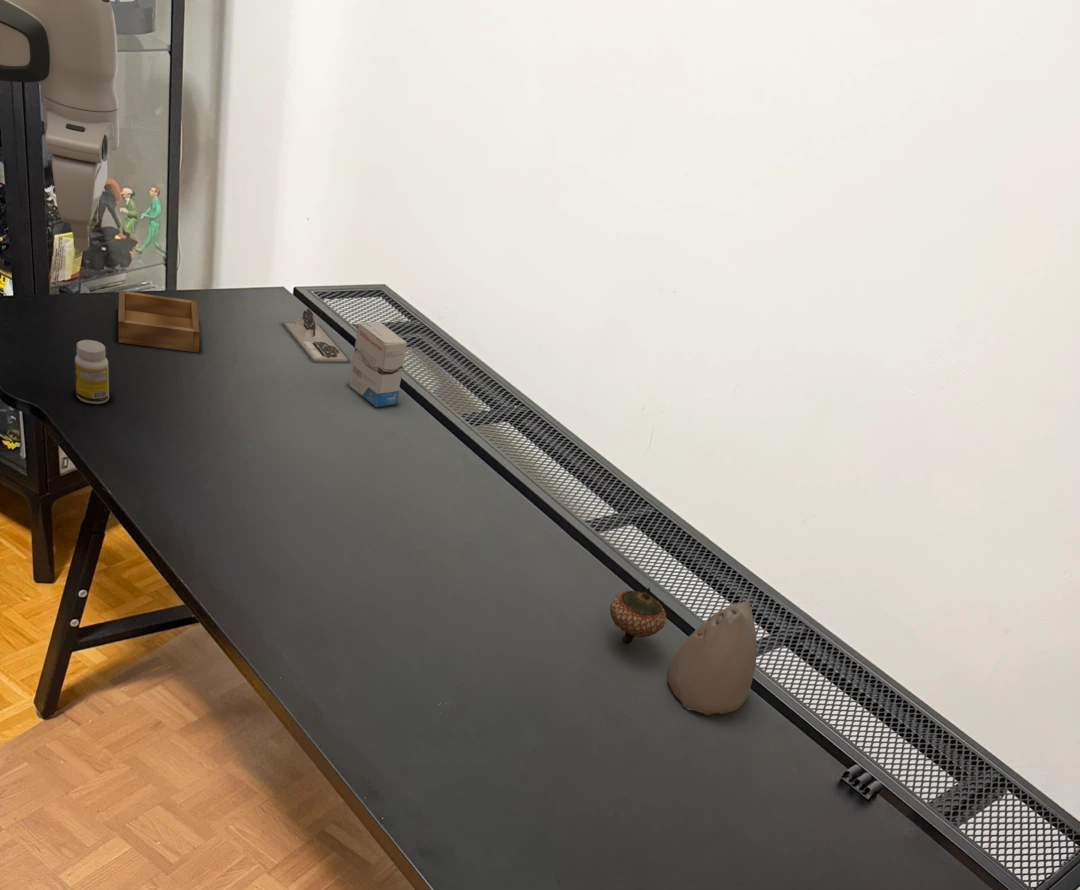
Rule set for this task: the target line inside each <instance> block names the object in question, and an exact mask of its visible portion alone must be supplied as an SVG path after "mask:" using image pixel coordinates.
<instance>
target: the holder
mask: <svg viewBox="0 0 1080 890" xmlns="http://www.w3.org/2000/svg"><path fill="white" fill-rule="evenodd" d="M117 318H118V321H117V323H118V325H117V329H118V331H117V332H118V335H117V336H118V343H119V344H127V345H134V346H142V347H151V348H159V349H167V350H175V351H183V352H189V353H197V354H199V353H200V333H201V332H200V331H201V330H200V323H199V321H200V320H199V312H198V303H197V301H196V300H191V299H183V298H176V297H170V296H164V295H155V294H149V293H142V292H134V291H129V290H121V289H119V290H118V315H117Z"/></svg>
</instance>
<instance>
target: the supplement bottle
mask: <svg viewBox="0 0 1080 890" xmlns="http://www.w3.org/2000/svg"><path fill="white" fill-rule="evenodd" d="M106 355H107V354H106V346H105V345H104V344H103V343H102V342H99V341H97V340H92V339H82V340H80V341H78V342H76V355H75V357H74V371H75V372H74V373H75V376H74V377H75V393H76V397H77V398H78V400H80V401H81V402H83V403H86V404H92V405H101V404H105V403H107V402H108V401H109V399H110V376H109V375H110V374H109V373H110V372H109V371H110V370H109V360H108V358H107V357H106Z"/></svg>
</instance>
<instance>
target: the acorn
mask: <svg viewBox="0 0 1080 890" xmlns="http://www.w3.org/2000/svg"><path fill="white" fill-rule="evenodd" d="M650 592H651V588H650V587H648V588H646V590H645V592H643V591H638V590H623V591H621V592H619V593H616V594H614V596H613V597H612V600H611V602H610V605H609V613H610V617H611V620H612V621H613V624H614V625H615V626H616V627H618V628H619V629H620V630H621V631H622V632H624V635H623V638H622V641H621V644H622V645H625V646H626V645H629V644H631V643H632V642H633V641H634V639H635V637H637V638H647V637H651V636H653V635H655V634H656V635H657V633H659V632H660V631H661V630H662V629H664V627H665V624H666V623H667V613H666V610H665V608H664V607H663V605H662V604H661V603H660V602H659V601H658V599H656V598H654V597H653V596H652V595H650Z"/></svg>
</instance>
